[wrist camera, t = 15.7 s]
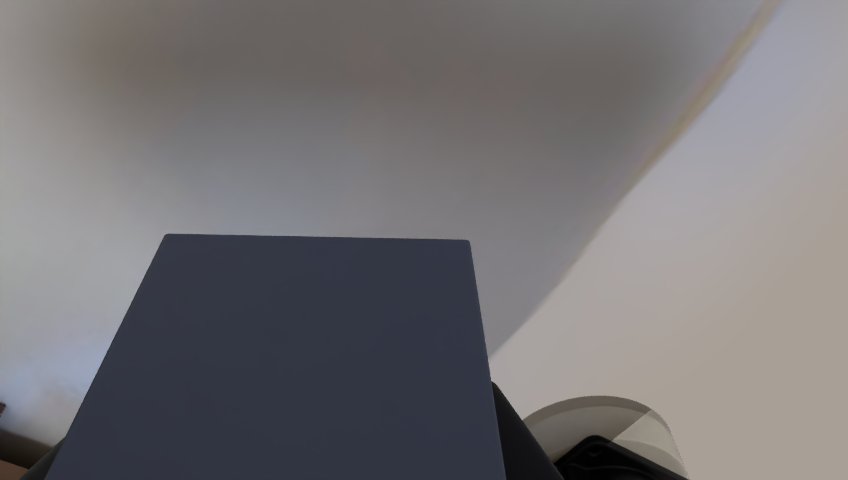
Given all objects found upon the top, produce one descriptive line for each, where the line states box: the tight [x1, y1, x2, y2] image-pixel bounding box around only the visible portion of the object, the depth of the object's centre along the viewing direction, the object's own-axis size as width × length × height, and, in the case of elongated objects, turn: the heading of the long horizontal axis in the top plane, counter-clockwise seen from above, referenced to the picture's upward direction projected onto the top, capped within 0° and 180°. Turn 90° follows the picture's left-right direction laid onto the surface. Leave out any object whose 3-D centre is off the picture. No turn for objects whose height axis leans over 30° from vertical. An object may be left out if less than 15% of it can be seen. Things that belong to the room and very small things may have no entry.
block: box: [44, 234, 506, 480], centre depth 9 cm, size 4×4×4 cm
